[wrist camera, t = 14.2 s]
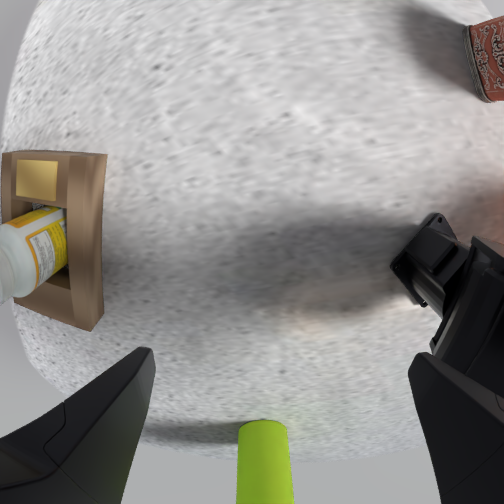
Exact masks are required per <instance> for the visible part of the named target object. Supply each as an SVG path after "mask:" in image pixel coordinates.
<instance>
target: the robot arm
mask: <svg viewBox="0 0 504 504" xmlns="http://www.w3.org/2000/svg"><path fill="white" fill-rule="evenodd" d="M439 218H440V220H439V221H438V219H439ZM396 265H398V266H397V268H395V266H396ZM390 268H391V270H392V271H393V272H394V273H395V275H396V276H397V277H398V278H399V279H400V281H401V282H402V283H403V284H404V286H405V287H406V288H407V289H408V291H409V292H410V293H411V294H412V296H413V297H414V298H415V299H416V301H417V302H418V303H419V304H420V306H421V307H426V306H427V305H428V304H429V306H430V307H431V308H432V309H433V310H434V311H435V312H436V313H437V314H438V315H439V316H440V318H441V319H442V322H441V324H440V326H439V328H438V330H437V332H436V334H435V336H434V337H433V338H432V339H431V341H430V343H429V344H430V348H431V351H432V355H431V354H429V353H428V352H422V353H418V354H416V356H415V358H414V360H413V362H412V364H411V366H410V368H409V370H408V378H409V382H410V386H411V390H412V394H413V398H414V403H415V407H416V410H417V414H418V417H419V420H420V423H421V426H422V429H423V433H424V436H425V439H426V443H427V446H428V449H429V453H430V457H431V461H432V464H433V468H434V472H435V476H436V481H437V485H438V489H439V493H440V499H441V504H504V245H503V244H500V243H497V242H494V241H490V240H487V239H484V238H480V237H477V236H473V237H472V240H471V248H470V247H468V246H466V245H465V244H463V243H461V242H460V241H458V240H457V238H456V236H455V234H454V233H453V231H452V229H451V227H450V226H449V224H448V222H447V221H446V219H445V217H444V216H443V215H442V214H440V213H437V214H435V215H434V217H433V218H432V219H431V220H430V221H429V222H428V224H427V225H426V226H425V227H424V228H423V229H422V230H421V231H420V232H419V233H418V234H417V235H416V237H415V238H414V239H413V240H412V241H411V242H410V243H409V244H408V245H407V246H406V248H405V249H404V250H403V251H402V252H401V253H400V254H399V255H398V256H397V257H396V258H395V260H394V261H393V262H392V263H391V265H390ZM424 301H425V302H424ZM423 302H424V303H423ZM155 372H156V367H155V361H154V355H153V351H152V349H151V348H147V347H138V348H136V349H135V350H134V351H132V352H131V353H130V354H128V355H127V356H125V357H124V358H123V359H121V360H120V361H119V362H117V363H116V364H114V365H113V366H112V367H110V368H109V369H108V370H106V371H105V372H103V373H102V374H101V375H99V376H98V377H96V378H95V379H94V380H92V381H91V382H90V383H88V384H87V385H85V386H84V387H83V388H81V389H80V390H78V391H77V392H76V393H74V394H73V395H71V396H70V397H69V398H67V399H66V400H65V401H64V402H62V403H60V404H59V405H57V406H56V407H54V408H53V409H52V410H50V411H48V412H47V413H46V414H44V415H42V416H41V417H39V418H37V419H36V420H34V421H32V422H30V423H29V424H27V425H25V426H23V427H21V428H19V429H17V430H15V431H14V432H12V433H10V434H8V435H6V436H4V437H2V438H0V504H121V500H122V497H123V493H124V489H125V485H126V482H127V478H128V475H129V471H130V468H131V465H132V461H133V457H134V454H135V451H136V448H137V444H138V441H139V438H140V435H141V432H142V429H143V425H144V422H145V419H146V416H147V412H148V408H149V402H150V397H151V392H152V387H153V382H154V377H155Z"/></svg>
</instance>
